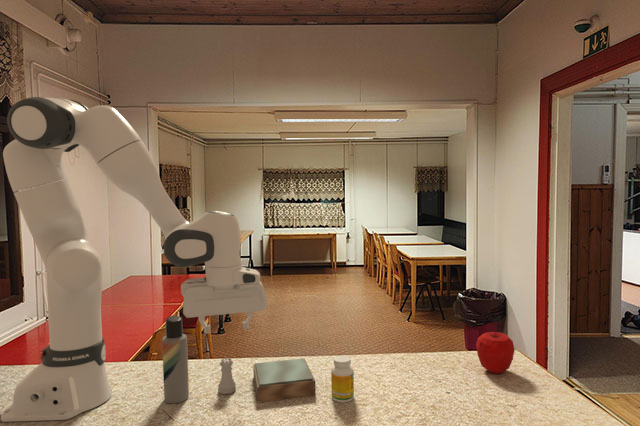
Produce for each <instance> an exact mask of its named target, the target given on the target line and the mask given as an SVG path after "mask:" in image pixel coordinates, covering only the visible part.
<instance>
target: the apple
mask: <svg viewBox="0 0 640 426" xmlns="http://www.w3.org/2000/svg"><path fill="white" fill-rule="evenodd" d="M475 346H476V347H475V348H476V353H477V356H478V360H479V362H480V365H481V366H482V368H483V369H485V370H487V371H488V372H489V373H491V374H495V375H500V374H504V372H506V371H507V370H508V369H510V367H511V365H512V363H513V362H512V361H513V360H514V355H515V346H514V341H513V340H512V339H511V338H510V336H508V335H507V334H505V333H502V332H498V331H489V332H484V333H482V334H481V335H480V336H478V338H477V341H476V343H475Z"/></svg>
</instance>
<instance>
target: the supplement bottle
mask: <svg viewBox="0 0 640 426" xmlns="http://www.w3.org/2000/svg"><path fill="white" fill-rule="evenodd" d="M351 364H352V362H351V358H350V356H347V355H338V356H335V357H334V358H333V366H332V367H331V369H330V371H331V372H330V375H331V376H330V377H331V386H330V388H331V392H330V393H331V399H333V401H335V402H336V403H337V402H338V403H343V404H344V403H348V402H352V401H353V399H355V391H354V390H355V389H354V388H355V387H354V386H355V385H354V383H355V381H354V380H355V379H354V378H355V377H354V376H355V373H354V368H353V367H352V365H351Z"/></svg>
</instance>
